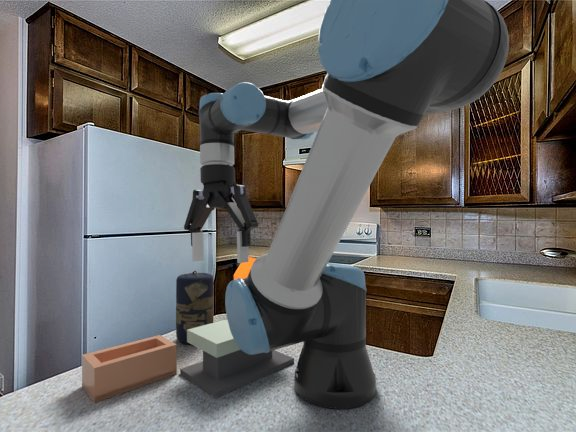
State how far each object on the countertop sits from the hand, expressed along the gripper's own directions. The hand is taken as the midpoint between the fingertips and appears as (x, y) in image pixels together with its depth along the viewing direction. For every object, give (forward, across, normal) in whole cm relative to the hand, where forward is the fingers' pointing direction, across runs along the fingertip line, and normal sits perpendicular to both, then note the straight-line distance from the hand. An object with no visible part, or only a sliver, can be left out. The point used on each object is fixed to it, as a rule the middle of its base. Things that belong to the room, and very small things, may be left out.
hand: (219, 261), depth 73 cm
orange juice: (+22, +12, -24) cm, 35 cm away
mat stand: (+22, -5, 0) cm, 23 cm away
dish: (+22, +10, +15) cm, 28 cm away
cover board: (+16, -5, 0) cm, 17 cm away
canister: (+22, +16, -7) cm, 28 cm away
